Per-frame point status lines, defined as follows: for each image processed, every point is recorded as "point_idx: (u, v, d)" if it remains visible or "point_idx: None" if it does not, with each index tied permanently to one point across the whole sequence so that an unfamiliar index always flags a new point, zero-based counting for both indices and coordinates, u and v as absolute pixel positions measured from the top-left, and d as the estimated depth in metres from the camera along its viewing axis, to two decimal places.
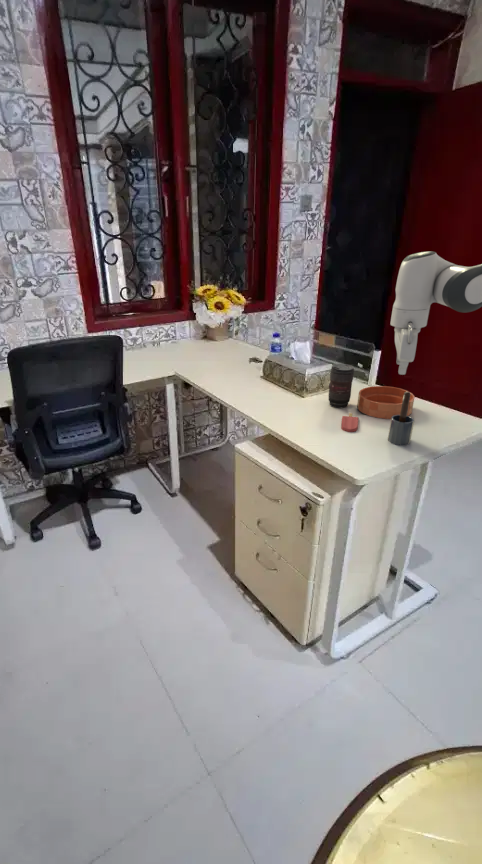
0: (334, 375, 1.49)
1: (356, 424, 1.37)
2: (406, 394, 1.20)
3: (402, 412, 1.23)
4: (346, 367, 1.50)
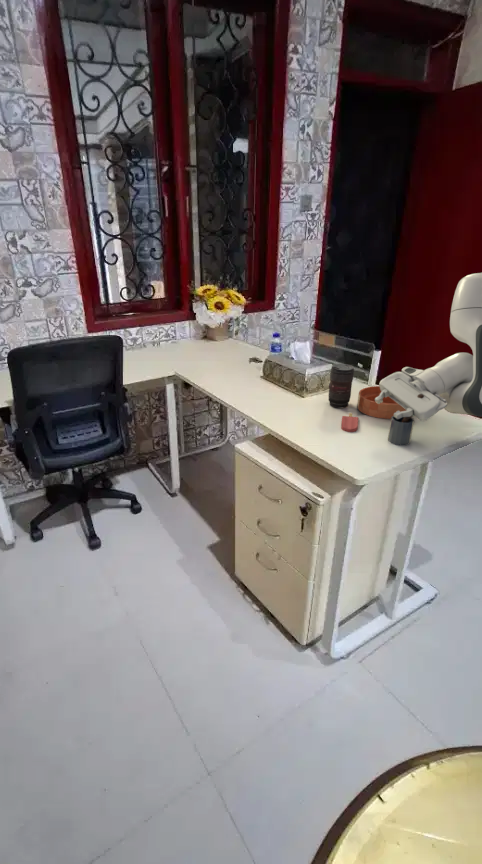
0: (334, 375, 1.49)
1: (356, 424, 1.37)
2: (421, 395, 1.22)
3: None
4: (346, 367, 1.50)
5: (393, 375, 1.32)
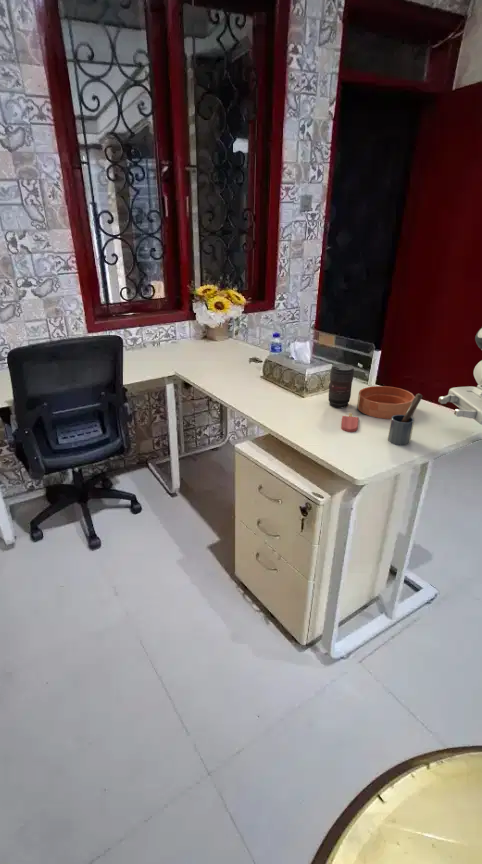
0: (334, 375, 1.49)
1: (356, 424, 1.37)
2: (419, 395, 1.22)
3: (408, 412, 1.24)
4: (346, 367, 1.50)
5: (466, 387, 1.27)
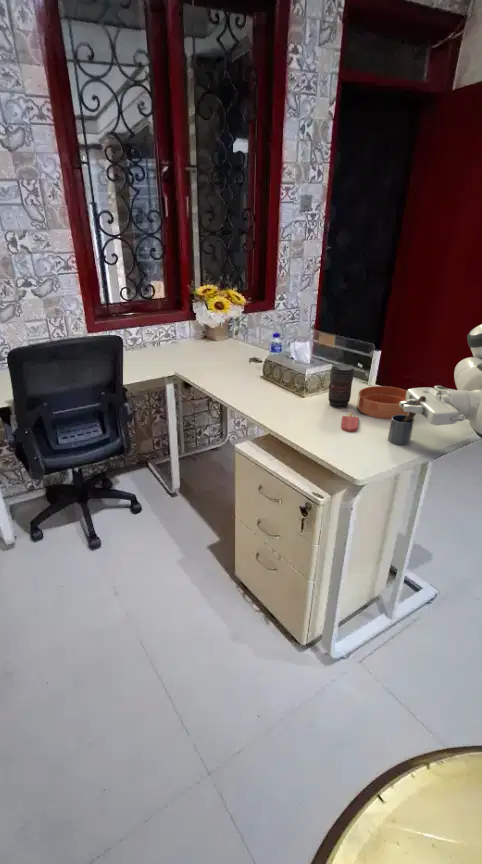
0: (334, 375, 1.49)
1: (356, 424, 1.37)
2: (423, 398, 1.20)
3: (410, 414, 1.23)
4: (346, 367, 1.50)
5: (423, 388, 1.29)
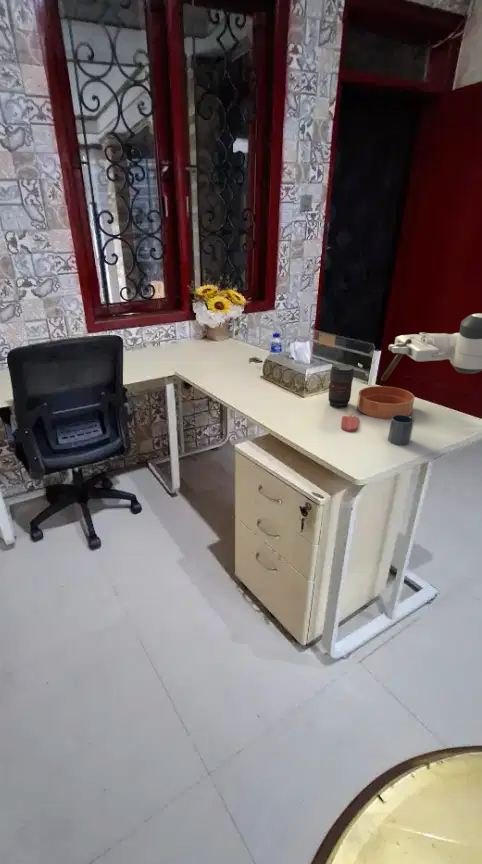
0: (334, 375, 1.49)
1: (356, 424, 1.37)
2: (409, 340, 1.38)
3: (398, 355, 1.40)
4: (346, 367, 1.50)
5: (410, 335, 1.46)
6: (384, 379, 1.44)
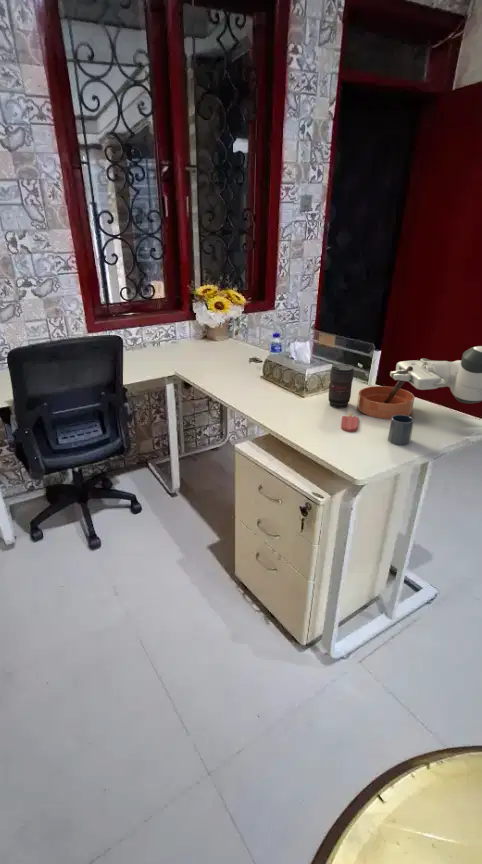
0: (334, 375, 1.49)
1: (356, 424, 1.37)
2: (410, 368, 1.39)
3: (399, 382, 1.42)
4: (346, 367, 1.50)
5: (411, 361, 1.47)
6: None
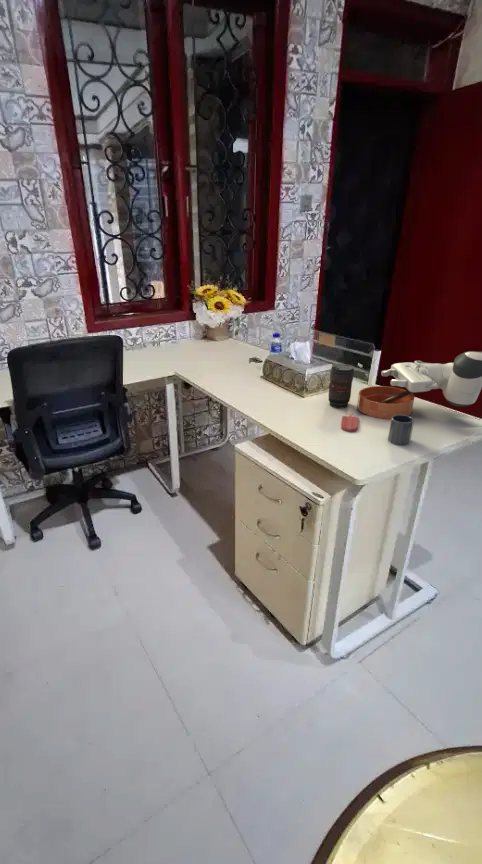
0: (334, 375, 1.49)
1: (356, 424, 1.37)
2: None
3: (401, 394, 1.47)
4: (346, 367, 1.50)
5: (405, 363, 1.51)
6: None
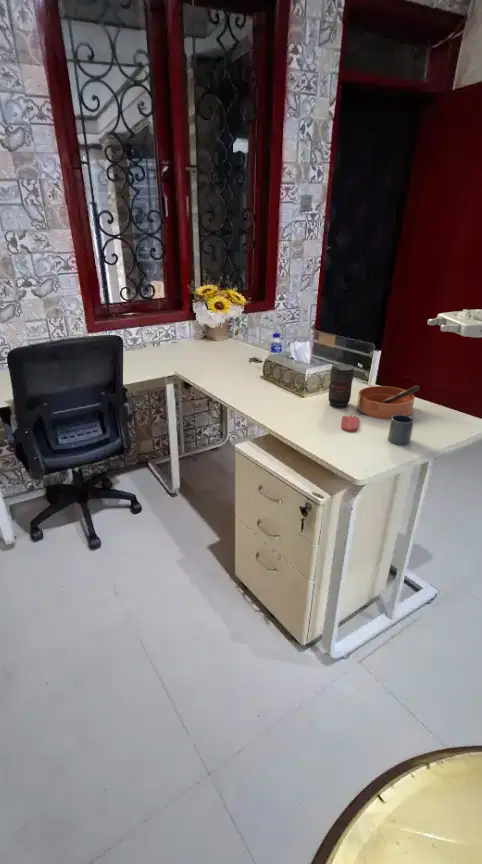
0: (334, 375, 1.49)
1: (356, 424, 1.37)
2: (417, 387, 1.46)
3: (401, 394, 1.47)
4: (346, 367, 1.50)
5: (453, 312, 1.42)
6: None
